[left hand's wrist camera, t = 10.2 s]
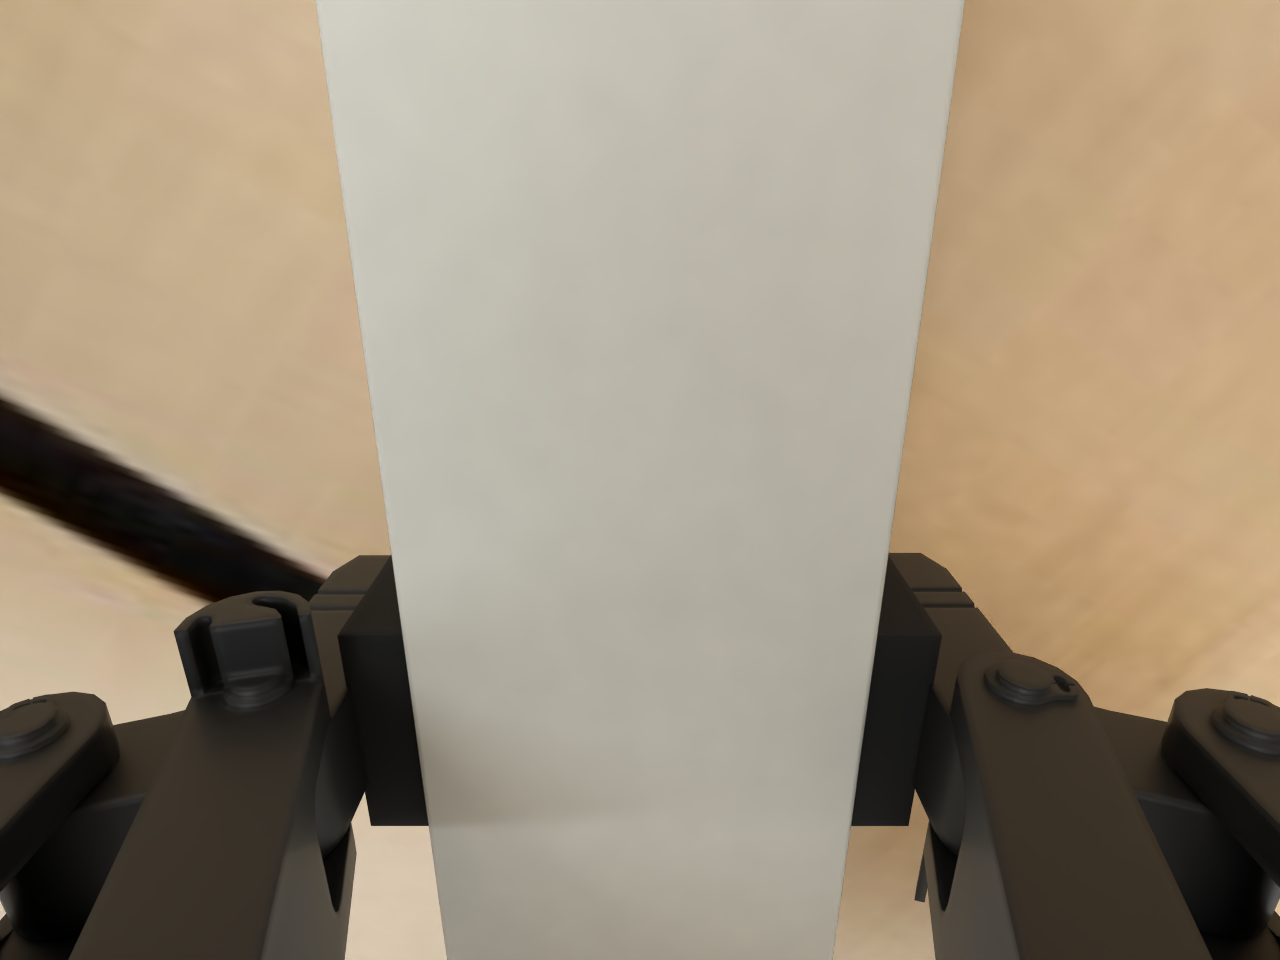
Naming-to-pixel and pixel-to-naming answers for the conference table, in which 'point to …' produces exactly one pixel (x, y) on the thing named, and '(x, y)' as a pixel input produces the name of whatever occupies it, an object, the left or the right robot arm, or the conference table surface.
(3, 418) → the conference table surface
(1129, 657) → the conference table surface
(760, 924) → the bar
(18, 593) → the conference table surface
